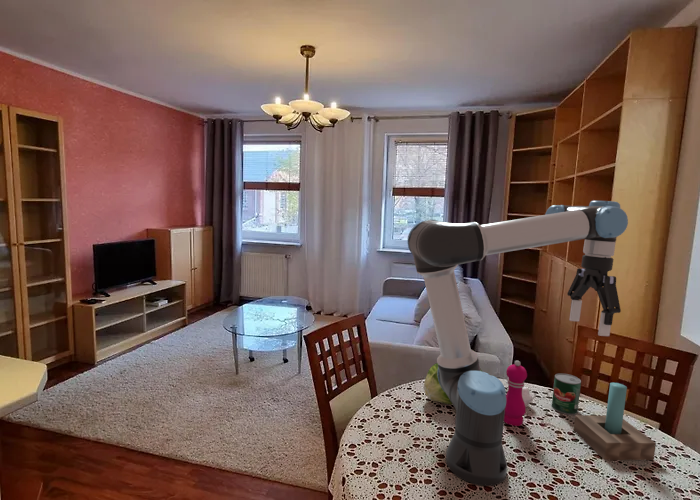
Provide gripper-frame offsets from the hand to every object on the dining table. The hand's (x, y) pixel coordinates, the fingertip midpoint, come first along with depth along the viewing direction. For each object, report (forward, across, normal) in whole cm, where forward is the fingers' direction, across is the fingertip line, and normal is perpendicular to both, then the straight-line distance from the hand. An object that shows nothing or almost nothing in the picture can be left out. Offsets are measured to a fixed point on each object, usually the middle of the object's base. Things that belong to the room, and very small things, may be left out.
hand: (588, 327), depth 114 cm
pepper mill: (+34, +8, +15) cm, 38 cm away
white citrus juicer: (+34, +18, +7) cm, 39 cm away
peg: (+34, -4, -9) cm, 35 cm away
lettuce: (+35, +20, +31) cm, 51 cm away
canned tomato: (+34, +16, -7) cm, 38 cm away
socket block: (+33, -4, -9) cm, 35 cm away
